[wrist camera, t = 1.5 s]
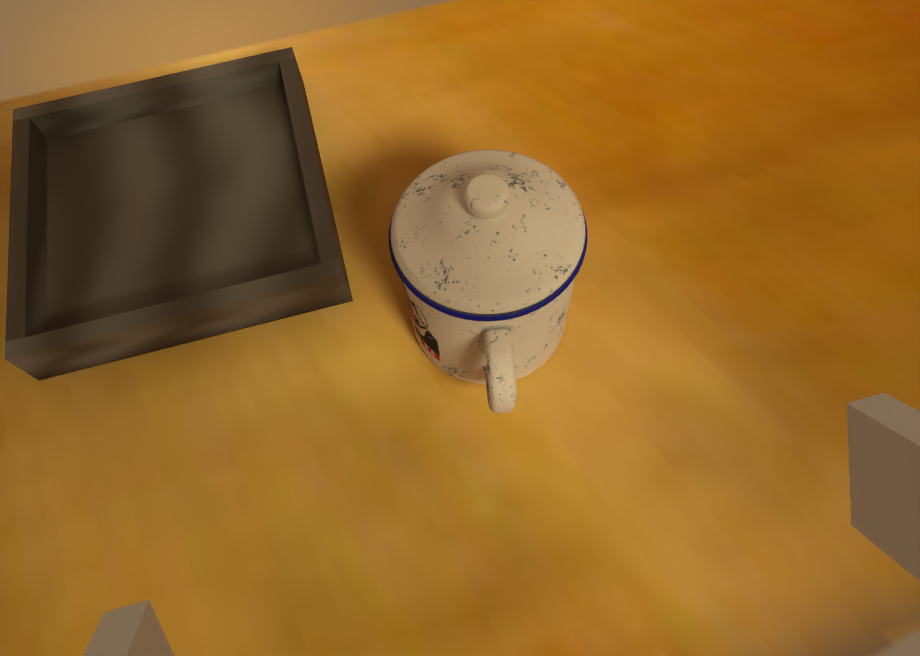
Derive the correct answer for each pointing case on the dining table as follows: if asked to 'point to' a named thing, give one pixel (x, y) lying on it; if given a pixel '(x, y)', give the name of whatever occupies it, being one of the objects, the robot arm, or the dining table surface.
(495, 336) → the teacup with lid
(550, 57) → the dining table surface
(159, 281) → the tea tray
